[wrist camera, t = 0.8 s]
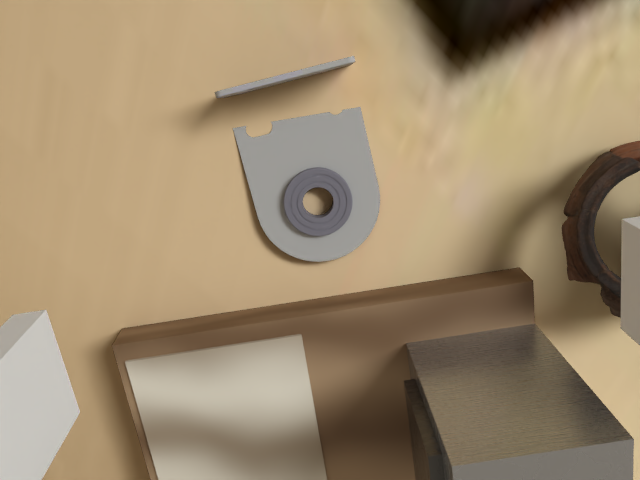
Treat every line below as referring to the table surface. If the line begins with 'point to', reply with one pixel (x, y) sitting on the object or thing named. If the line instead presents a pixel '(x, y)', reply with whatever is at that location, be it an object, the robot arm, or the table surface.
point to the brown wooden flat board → (300, 380)
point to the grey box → (508, 412)
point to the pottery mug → (582, 219)
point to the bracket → (311, 175)
